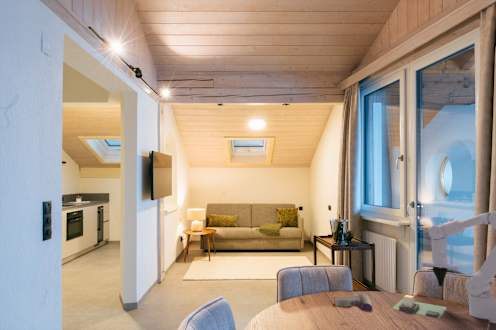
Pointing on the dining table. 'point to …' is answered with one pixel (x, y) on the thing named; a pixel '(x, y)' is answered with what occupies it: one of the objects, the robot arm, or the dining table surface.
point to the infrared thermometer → (354, 302)
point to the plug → (408, 301)
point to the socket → (416, 307)
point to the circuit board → (425, 309)
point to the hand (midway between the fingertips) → (441, 285)
